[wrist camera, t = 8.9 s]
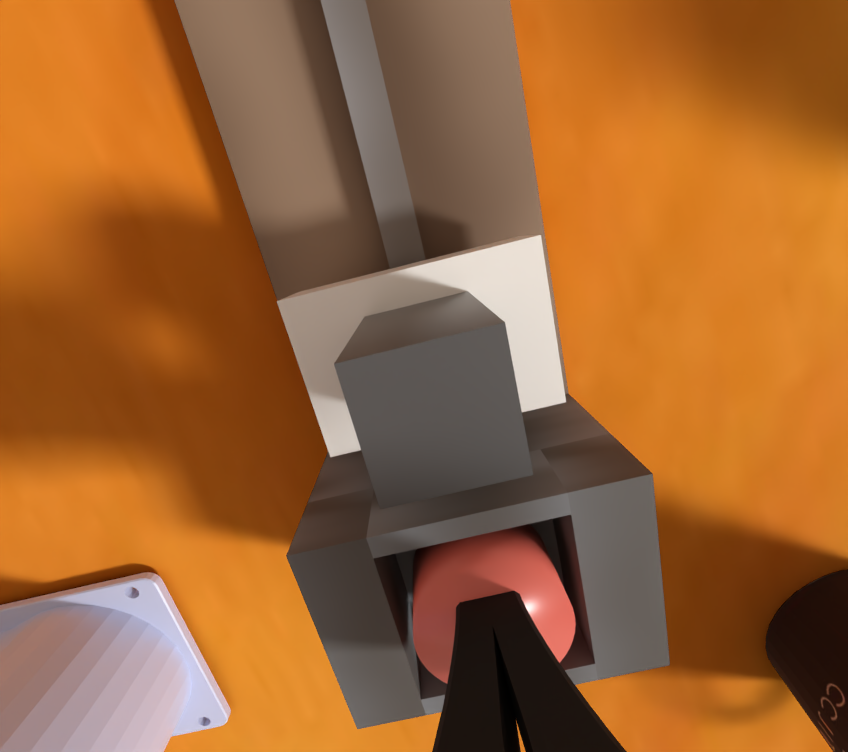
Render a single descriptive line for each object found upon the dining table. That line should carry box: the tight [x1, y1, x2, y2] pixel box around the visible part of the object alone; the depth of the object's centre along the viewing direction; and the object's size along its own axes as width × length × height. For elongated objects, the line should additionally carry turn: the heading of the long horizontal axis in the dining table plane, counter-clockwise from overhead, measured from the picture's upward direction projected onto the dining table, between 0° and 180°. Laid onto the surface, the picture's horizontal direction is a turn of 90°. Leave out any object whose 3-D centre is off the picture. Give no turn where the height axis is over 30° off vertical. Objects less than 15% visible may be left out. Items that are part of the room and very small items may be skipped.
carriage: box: [277, 235, 566, 510], centre depth 9 cm, size 6×4×6 cm, turn 104°
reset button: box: [413, 524, 576, 683], centre depth 10 cm, size 4×4×2 cm
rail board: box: [174, 0, 670, 729], centre depth 11 cm, size 8×20×6 cm, turn 14°
